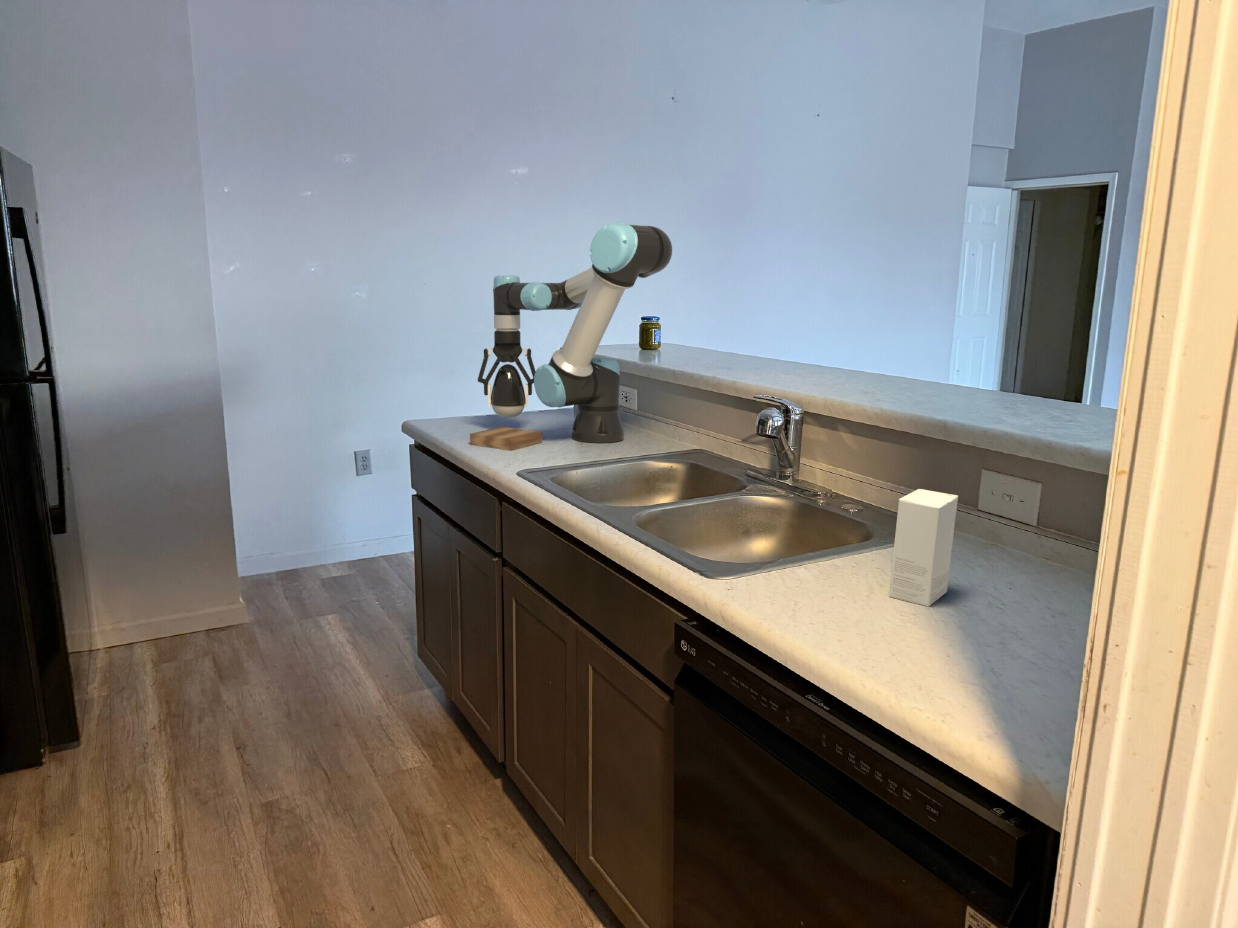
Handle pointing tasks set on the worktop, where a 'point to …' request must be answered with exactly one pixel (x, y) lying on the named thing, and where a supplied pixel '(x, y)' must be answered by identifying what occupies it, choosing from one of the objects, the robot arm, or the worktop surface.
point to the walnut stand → (506, 438)
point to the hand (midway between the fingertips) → (508, 406)
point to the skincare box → (923, 546)
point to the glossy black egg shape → (508, 392)
